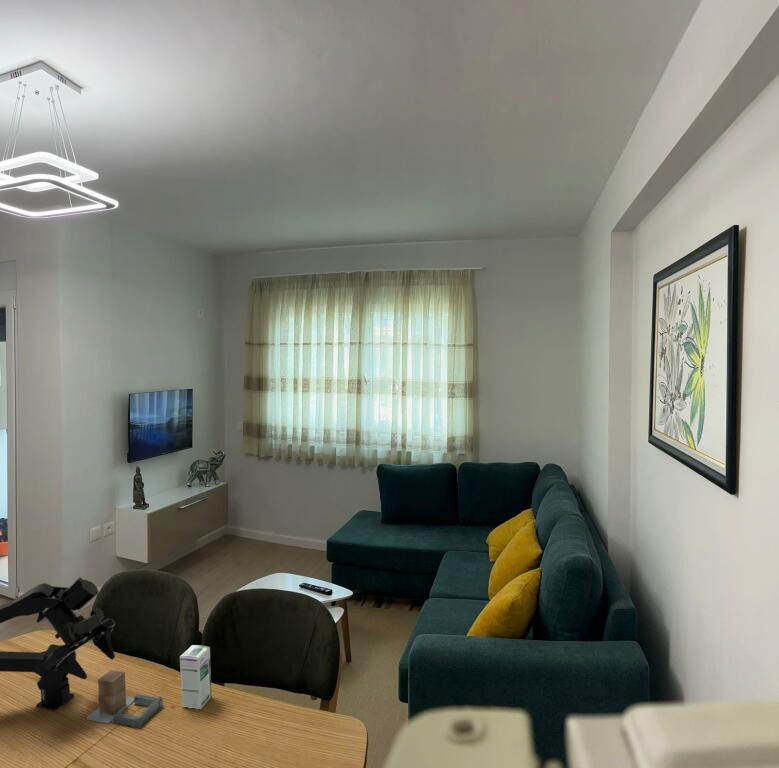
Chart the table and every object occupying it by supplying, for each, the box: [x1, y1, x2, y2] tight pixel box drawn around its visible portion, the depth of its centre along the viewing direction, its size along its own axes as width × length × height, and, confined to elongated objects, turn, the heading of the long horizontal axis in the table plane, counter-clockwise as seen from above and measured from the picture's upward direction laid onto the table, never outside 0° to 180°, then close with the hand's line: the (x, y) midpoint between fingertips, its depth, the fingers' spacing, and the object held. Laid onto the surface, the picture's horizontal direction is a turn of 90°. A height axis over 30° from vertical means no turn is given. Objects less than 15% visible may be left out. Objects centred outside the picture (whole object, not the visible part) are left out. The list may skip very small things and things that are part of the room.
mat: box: [85, 696, 135, 725], centre depth 144 cm, size 7×10×1 cm
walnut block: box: [97, 669, 127, 715], centre depth 143 cm, size 4×4×9 cm
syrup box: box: [179, 644, 213, 710], centre depth 146 cm, size 6×6×14 cm
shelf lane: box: [112, 693, 164, 729], centre depth 141 cm, size 8×9×2 cm
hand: (100, 668), depth 143 cm, fingers open, 9 cm apart
